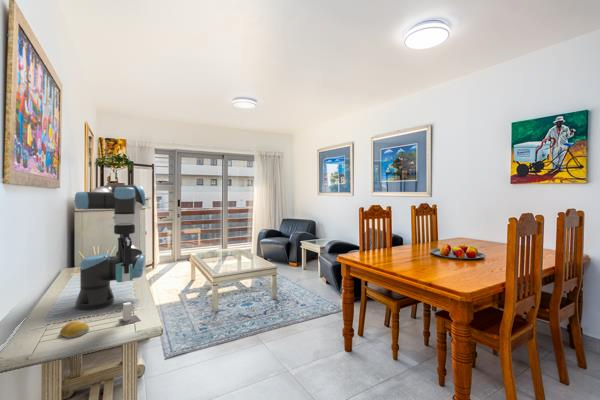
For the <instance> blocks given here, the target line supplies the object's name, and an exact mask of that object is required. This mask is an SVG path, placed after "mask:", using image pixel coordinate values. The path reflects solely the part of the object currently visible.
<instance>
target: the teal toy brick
mask: <svg viewBox="0 0 600 400" xmlns="http://www.w3.org/2000/svg"><path fill="white" fill-rule="evenodd" d="M122 264H123V263H122ZM122 264H116V280H115V281H116V283H123V282H122V266H121V265H122ZM132 276H133V265H132V264H130V281H131V282H132V281H133V279H132ZM130 281H129V282H130ZM126 282H127V281H125V283H126Z"/></svg>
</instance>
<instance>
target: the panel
mask: <svg viewBox="0 0 600 400" xmlns="http://www.w3.org/2000/svg"><path fill="white" fill-rule="evenodd" d="M118 320H119V322H120V323H121V324H122V325H123V326H125V325H129V324H134V323H137V322H141V319H140V318H139V317H138V316H137V315H131V320H128V321H124V320H123V317H122V318H119V319H118Z"/></svg>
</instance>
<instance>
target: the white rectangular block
mask: <svg viewBox="0 0 600 400" xmlns="http://www.w3.org/2000/svg"><path fill="white" fill-rule="evenodd" d="M132 304H133V303H132V302H130V301H128V302H124V303H122V318H123V320H124V321H128V320H131V316H132V314H133V312H132V310H133V309H132V306H133V305H132Z"/></svg>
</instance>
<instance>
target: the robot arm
mask: <svg viewBox="0 0 600 400" xmlns="http://www.w3.org/2000/svg"><path fill="white" fill-rule="evenodd" d="M145 193H146V192H145V189H144V187H143V186H142V185H140V184H139V185H137V184H107V185H102V186H98V187H95V188H93V190H91V191H78V192H76V193H75V194H74V195H75V196H74V207H75V209H77V210H84V211H87V210H114V213H113V215H114V216H112V219H113V220H114V221H113V223H114V226H113V233H114V234H115V235H119V237H117V251H116V253H115V256H111V254H110V253H98V254H93V255H89V256H86V257H84V258H82V260H80V268H79V273H80V276H79V277H80V278H79V279H80V282H79V285H80V287H79V288H80V290H79V293H78V296H77V298H76V301H75V309H77V310H80V311H81V310H82V311H89V310H90V311H91V310H96V309H102V308H105V307H107V306H110V305H112V304H113V303H114V302H115V295H114V293H113V290H112V287H111V282H112V281H116V264H122V263H123V264H122V265H121V266H122V282H121V283H124V282H125V281H126V282H130V264H132V265H133V276H132V280H133V279H138V278H141V277H142V276H143V274H144V270H145V261H146V254H145V253H143V251H142V249H140V211H141V210H142V209H143V207H144V206H146V204H147V203H146V194H145ZM126 282H125V283H126Z"/></svg>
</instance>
